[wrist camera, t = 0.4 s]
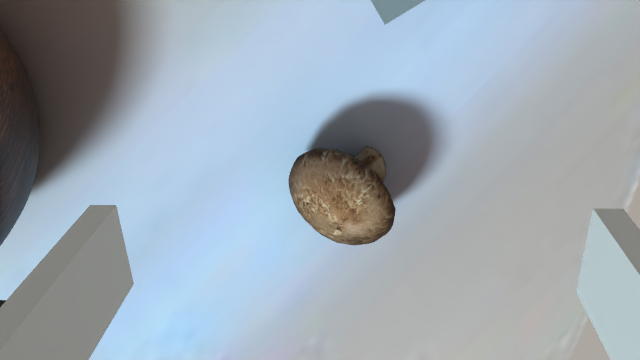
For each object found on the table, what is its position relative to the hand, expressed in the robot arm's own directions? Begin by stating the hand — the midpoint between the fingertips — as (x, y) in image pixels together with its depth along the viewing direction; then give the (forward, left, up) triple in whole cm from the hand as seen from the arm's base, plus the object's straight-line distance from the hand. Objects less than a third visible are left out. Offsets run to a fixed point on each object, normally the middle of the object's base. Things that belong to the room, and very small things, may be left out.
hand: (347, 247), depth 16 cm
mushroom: (+8, -6, -25) cm, 27 cm away
